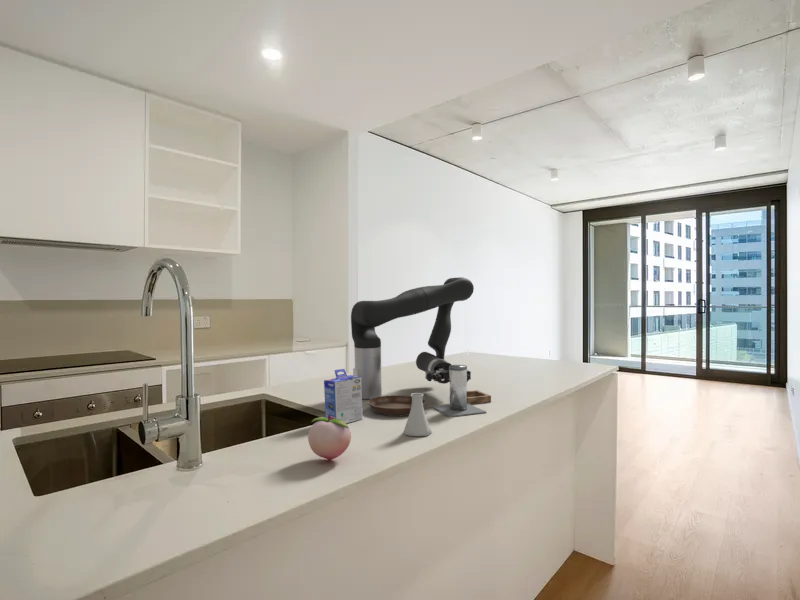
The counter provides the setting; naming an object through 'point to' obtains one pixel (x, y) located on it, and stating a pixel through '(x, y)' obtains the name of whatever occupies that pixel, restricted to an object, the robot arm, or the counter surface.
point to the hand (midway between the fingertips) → (453, 379)
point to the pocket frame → (477, 397)
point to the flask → (417, 418)
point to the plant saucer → (392, 405)
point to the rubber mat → (451, 413)
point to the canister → (458, 387)
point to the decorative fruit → (329, 437)
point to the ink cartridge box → (343, 397)
